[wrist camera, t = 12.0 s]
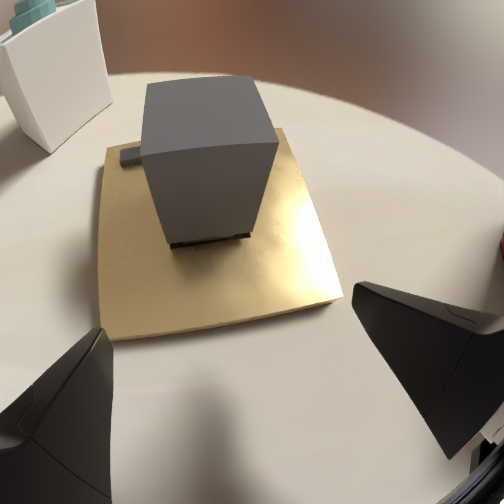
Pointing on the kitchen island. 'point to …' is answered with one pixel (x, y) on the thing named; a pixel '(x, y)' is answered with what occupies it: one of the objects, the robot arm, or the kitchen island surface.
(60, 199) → the kitchen island surface
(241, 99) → the plug
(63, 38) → the soap bottle
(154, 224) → the socket
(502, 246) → the bucket
